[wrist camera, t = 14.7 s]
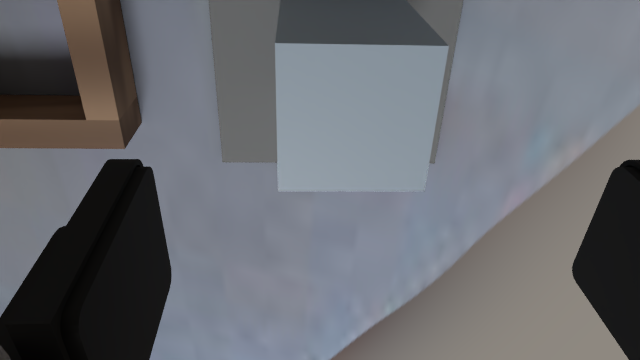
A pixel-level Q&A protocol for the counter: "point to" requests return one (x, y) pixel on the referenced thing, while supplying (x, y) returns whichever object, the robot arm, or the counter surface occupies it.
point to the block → (355, 95)
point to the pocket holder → (81, 88)
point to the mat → (260, 76)
